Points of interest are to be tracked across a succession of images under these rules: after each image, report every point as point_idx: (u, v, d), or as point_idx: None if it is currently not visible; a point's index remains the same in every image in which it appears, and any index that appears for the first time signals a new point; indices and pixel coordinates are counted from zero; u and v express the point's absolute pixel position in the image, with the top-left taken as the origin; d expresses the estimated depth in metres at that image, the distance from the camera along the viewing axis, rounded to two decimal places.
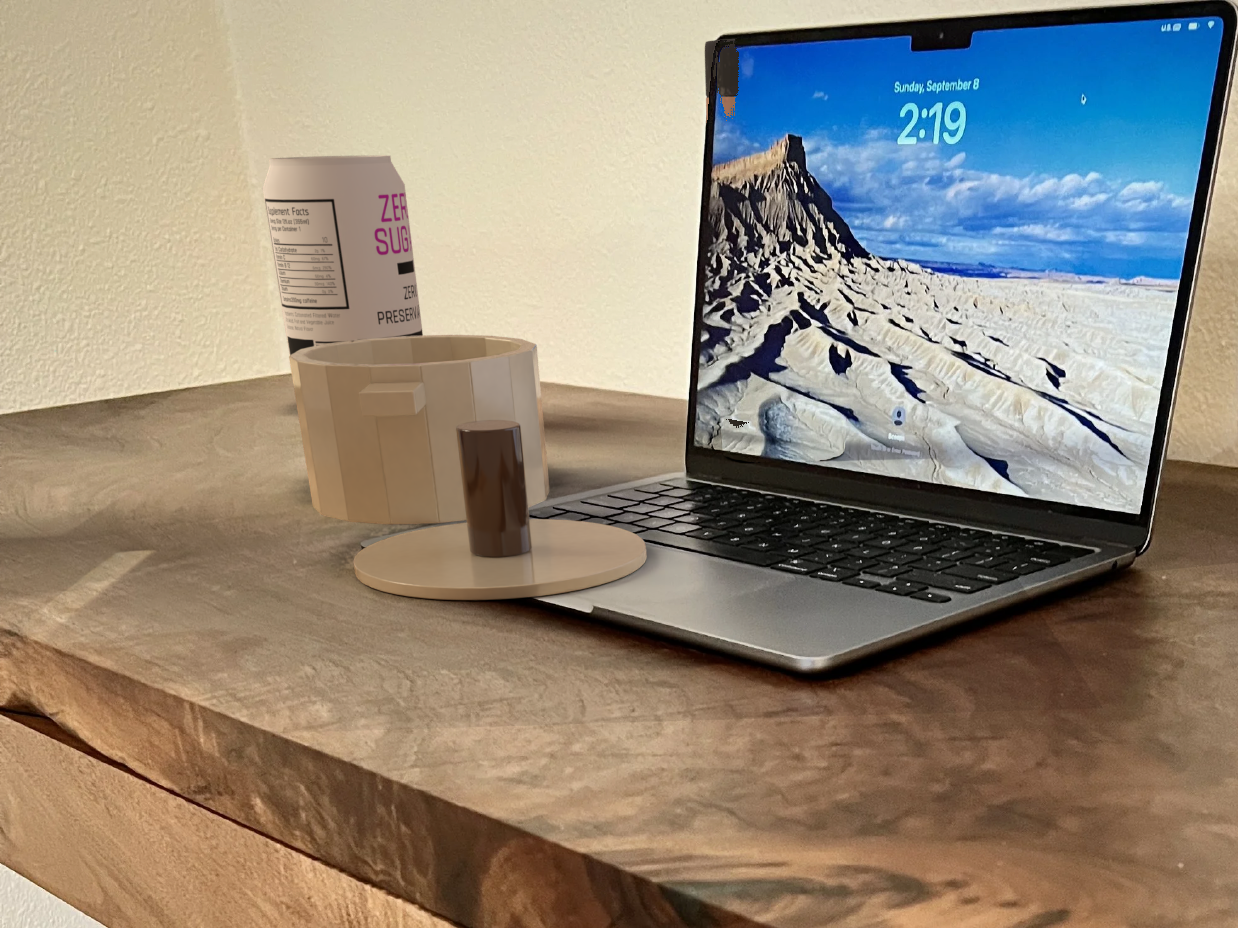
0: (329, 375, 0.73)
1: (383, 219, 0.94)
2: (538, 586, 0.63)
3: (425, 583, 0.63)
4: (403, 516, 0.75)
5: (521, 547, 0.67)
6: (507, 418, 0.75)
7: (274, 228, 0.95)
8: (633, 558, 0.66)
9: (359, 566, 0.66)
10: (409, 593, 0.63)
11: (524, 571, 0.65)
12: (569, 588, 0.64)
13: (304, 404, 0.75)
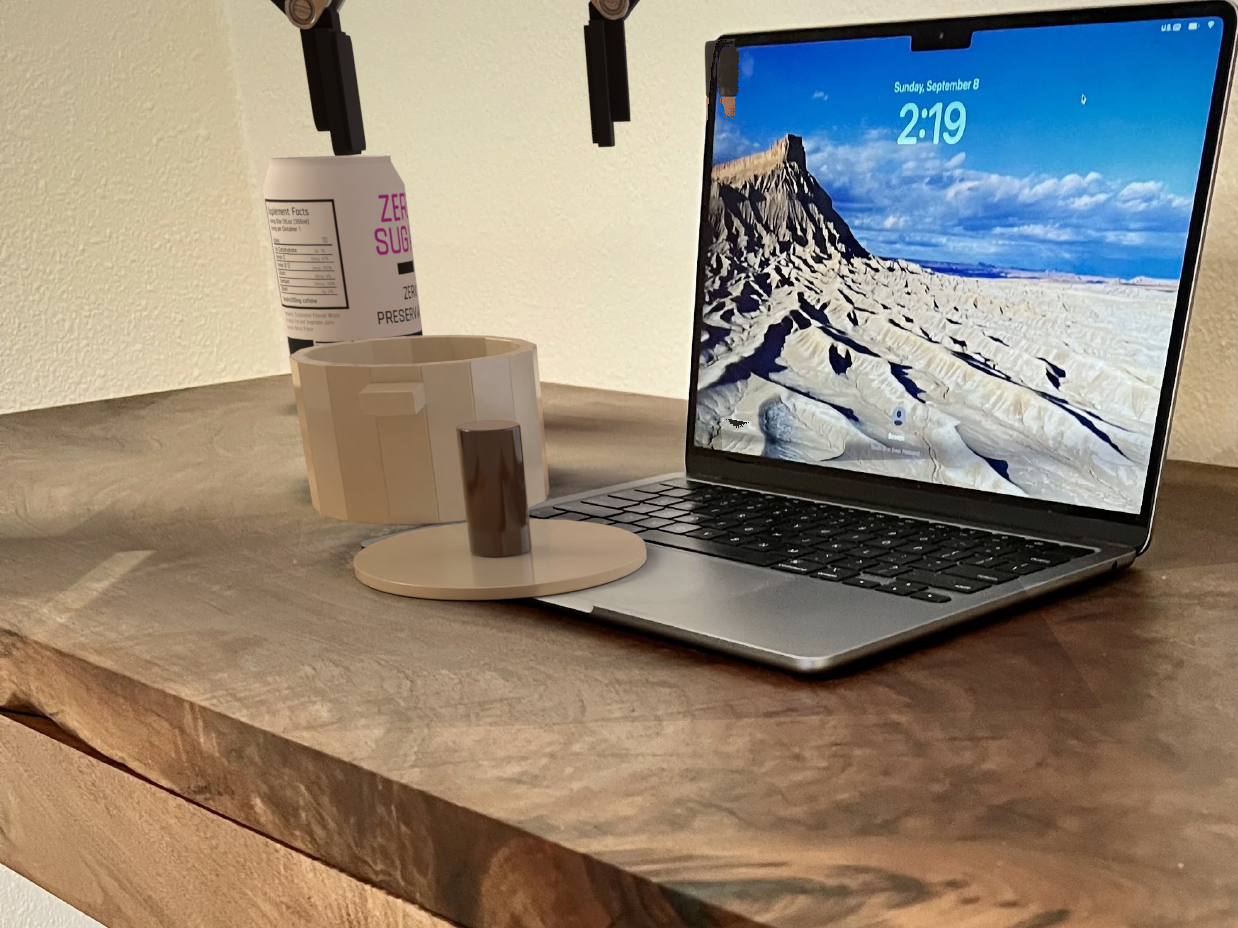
0: (329, 375, 0.73)
1: (383, 219, 0.94)
2: (538, 586, 0.63)
3: (425, 583, 0.63)
4: (403, 516, 0.75)
5: (521, 547, 0.67)
6: (507, 418, 0.75)
7: (274, 228, 0.95)
8: (633, 558, 0.66)
9: (359, 566, 0.66)
10: (409, 593, 0.63)
11: (524, 571, 0.65)
12: (569, 588, 0.64)
13: (304, 404, 0.75)
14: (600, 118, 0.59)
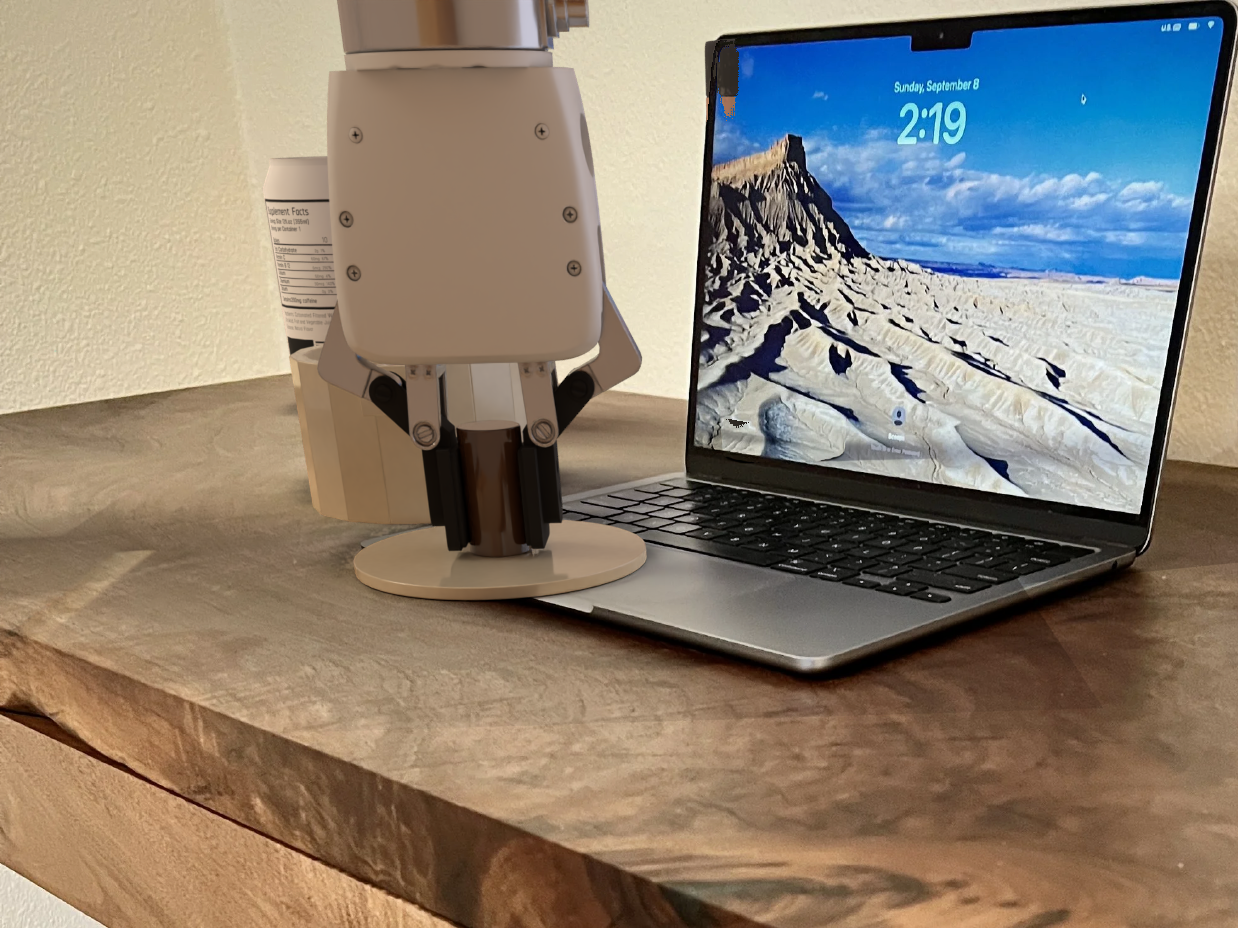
0: None
1: None
2: (538, 586, 0.63)
3: (425, 583, 0.63)
4: (403, 516, 0.75)
5: (521, 547, 0.67)
6: (507, 418, 0.75)
7: (274, 228, 0.95)
8: (633, 558, 0.66)
9: (359, 566, 0.66)
10: (409, 593, 0.63)
11: (524, 571, 0.65)
12: (569, 588, 0.64)
13: (304, 404, 0.75)
14: (533, 527, 0.66)
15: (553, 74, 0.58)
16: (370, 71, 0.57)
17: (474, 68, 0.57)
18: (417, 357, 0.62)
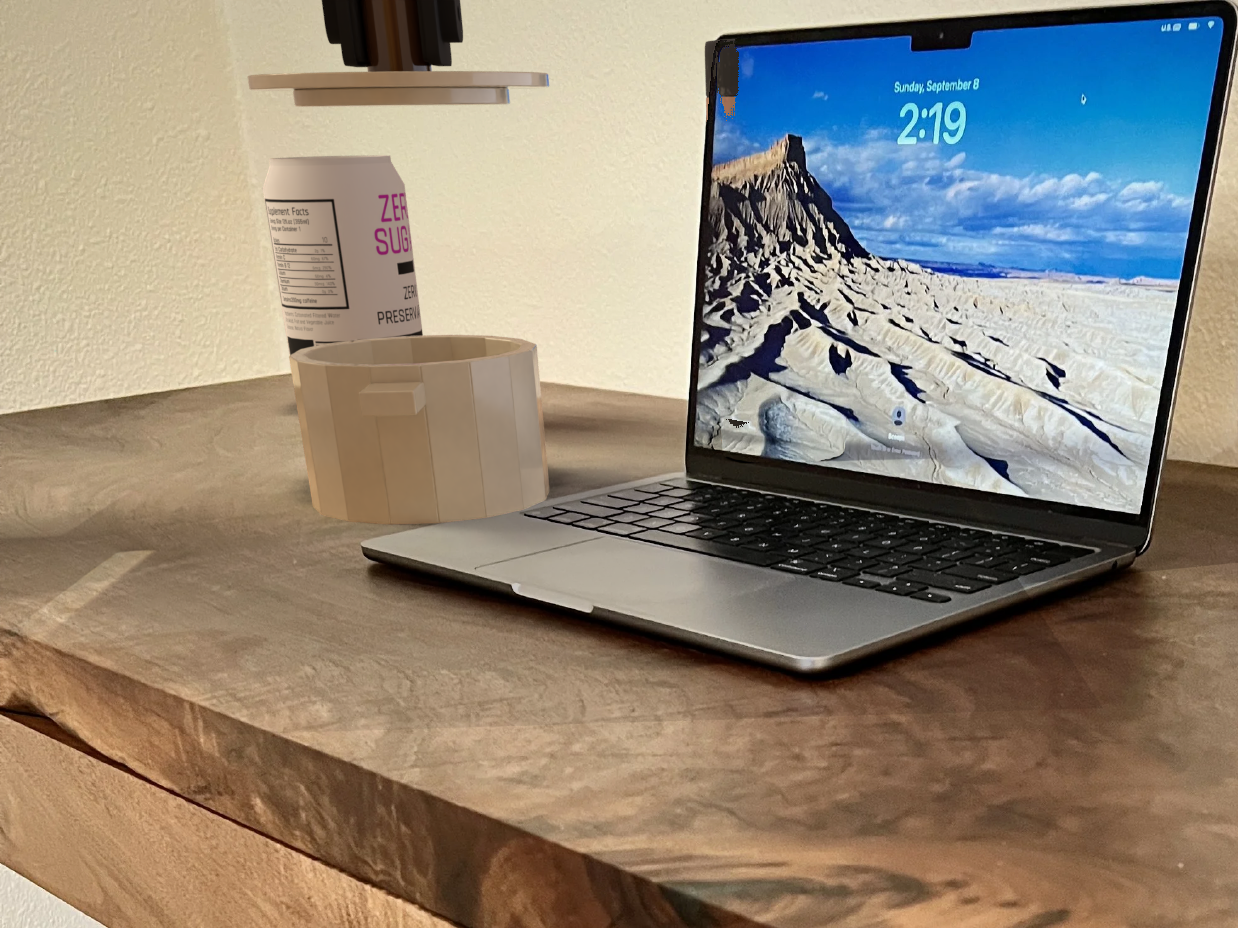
0: (329, 375, 0.73)
1: (383, 219, 0.94)
2: (428, 74, 0.62)
3: None
4: (403, 516, 0.75)
5: (419, 65, 0.66)
6: (507, 418, 0.75)
7: (274, 228, 0.95)
8: (531, 72, 0.65)
9: None
10: (297, 83, 0.62)
11: None
12: (460, 82, 0.62)
13: (304, 404, 0.75)
14: (429, 37, 0.65)
15: None
16: None
17: None
18: None
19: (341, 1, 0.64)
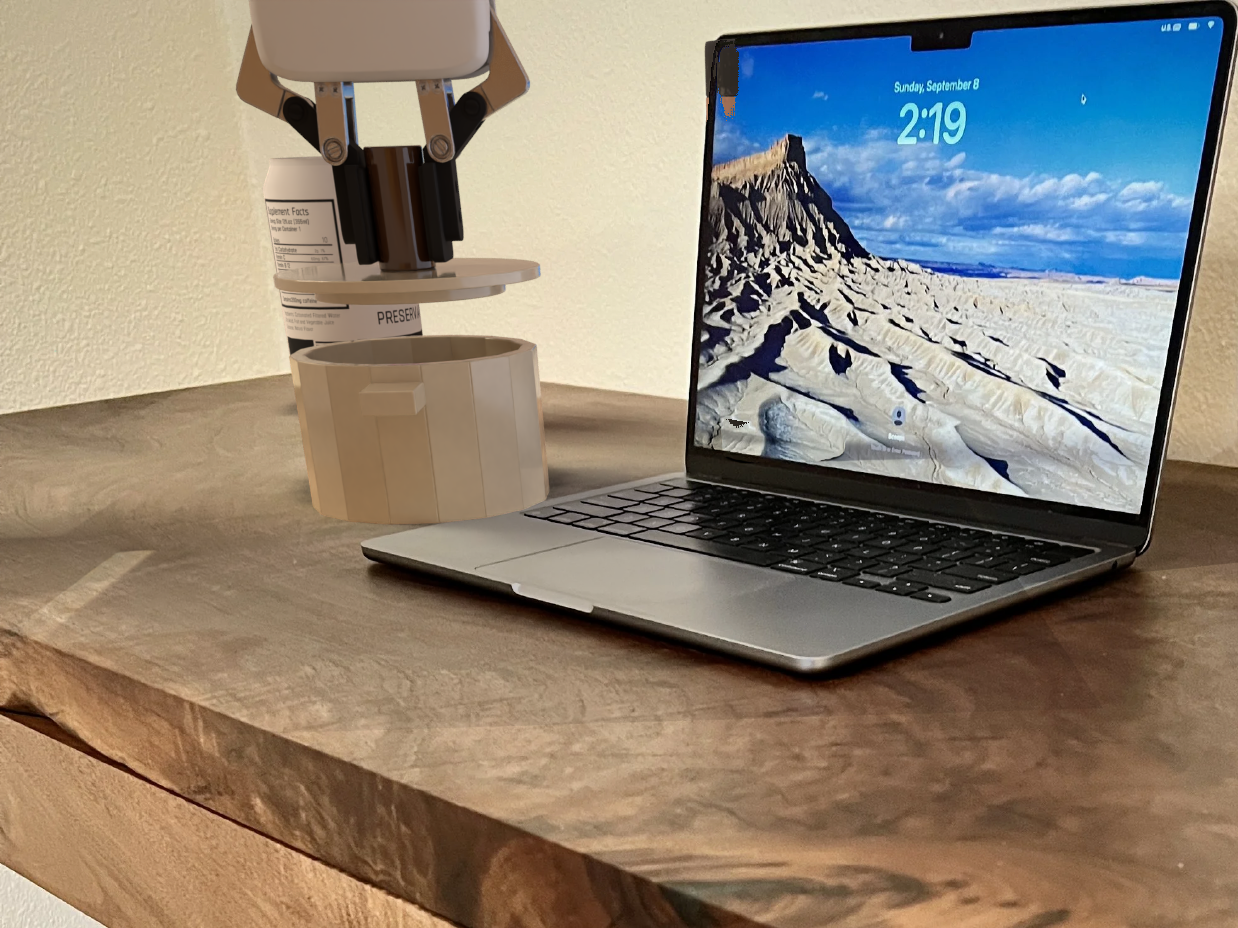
0: (329, 375, 0.73)
1: None
2: (435, 281, 0.70)
3: (334, 280, 0.70)
4: (403, 516, 0.75)
5: (425, 262, 0.74)
6: (507, 418, 0.75)
7: (274, 228, 0.95)
8: (525, 268, 0.73)
9: (277, 276, 0.73)
10: (319, 290, 0.70)
11: (425, 274, 0.72)
12: (464, 286, 0.71)
13: (304, 404, 0.75)
14: (434, 240, 0.73)
15: None
16: None
17: None
18: (324, 73, 0.69)
19: (356, 211, 0.72)
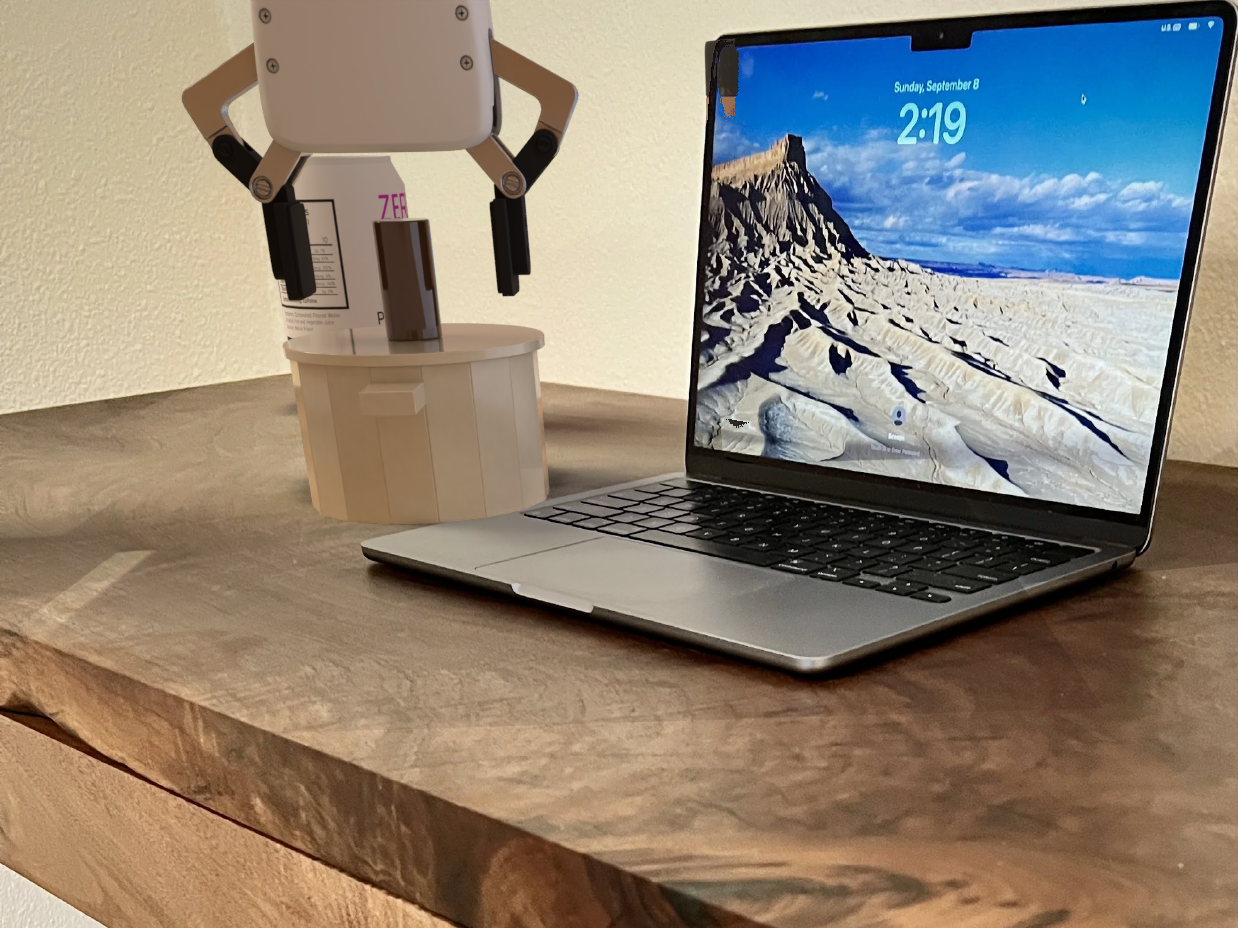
0: (329, 375, 0.73)
1: None
2: (442, 355, 0.72)
3: (342, 353, 0.72)
4: (403, 516, 0.75)
5: (431, 332, 0.75)
6: (507, 418, 0.75)
7: None
8: (530, 340, 0.75)
9: (287, 346, 0.74)
10: (328, 362, 0.72)
11: (431, 347, 0.73)
12: (470, 359, 0.72)
13: (304, 404, 0.75)
14: (503, 274, 0.74)
15: None
16: None
17: None
18: (330, 145, 0.71)
19: (285, 248, 0.73)
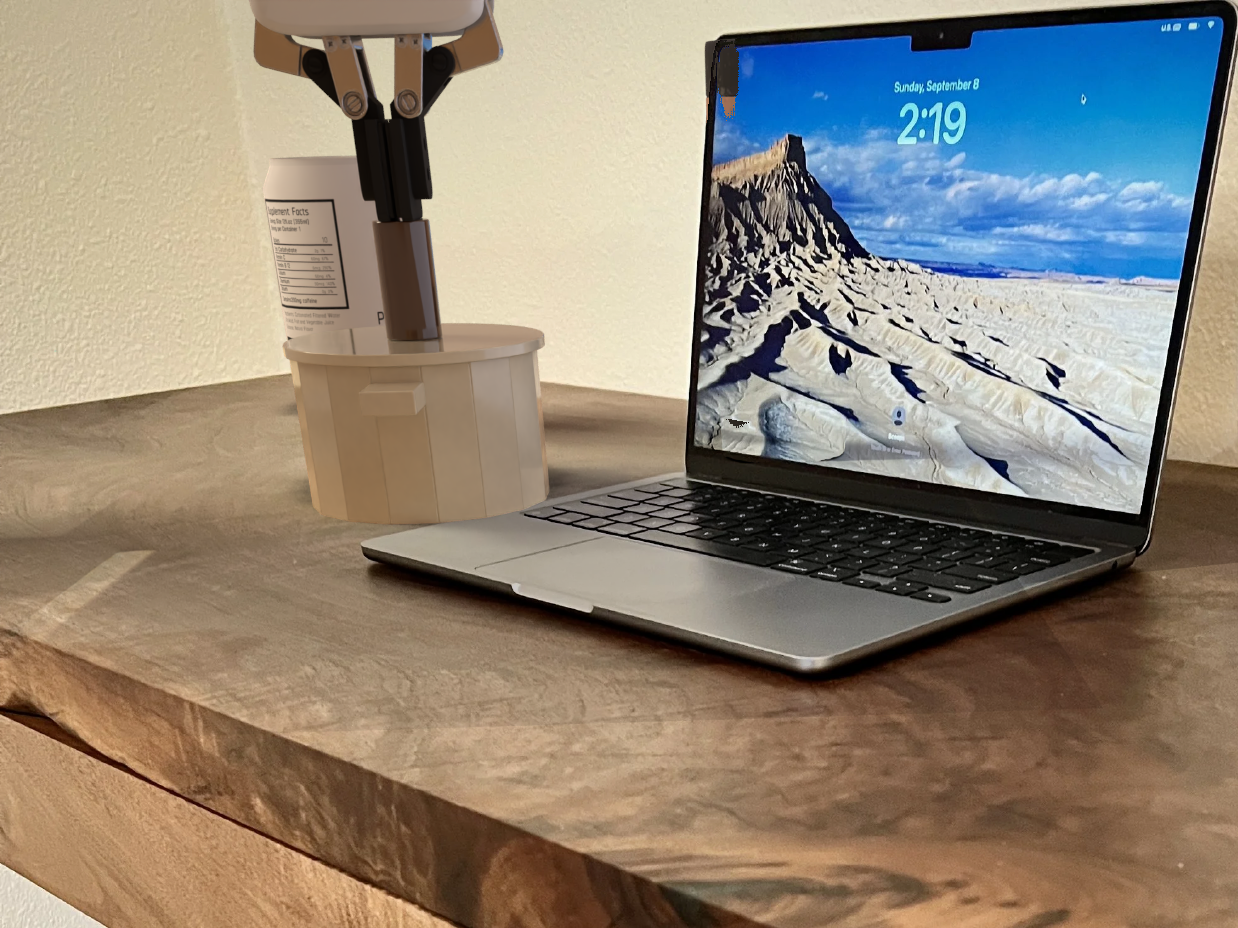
0: (329, 375, 0.73)
1: None
2: (442, 355, 0.72)
3: (342, 353, 0.72)
4: (403, 516, 0.75)
5: (431, 332, 0.75)
6: (507, 418, 0.75)
7: (274, 228, 0.95)
8: (530, 340, 0.75)
9: (287, 346, 0.74)
10: (328, 362, 0.72)
11: (431, 347, 0.73)
12: (470, 359, 0.72)
13: (304, 404, 0.75)
14: (402, 198, 0.72)
15: None
16: None
17: None
18: (317, 26, 0.68)
19: (376, 166, 0.71)
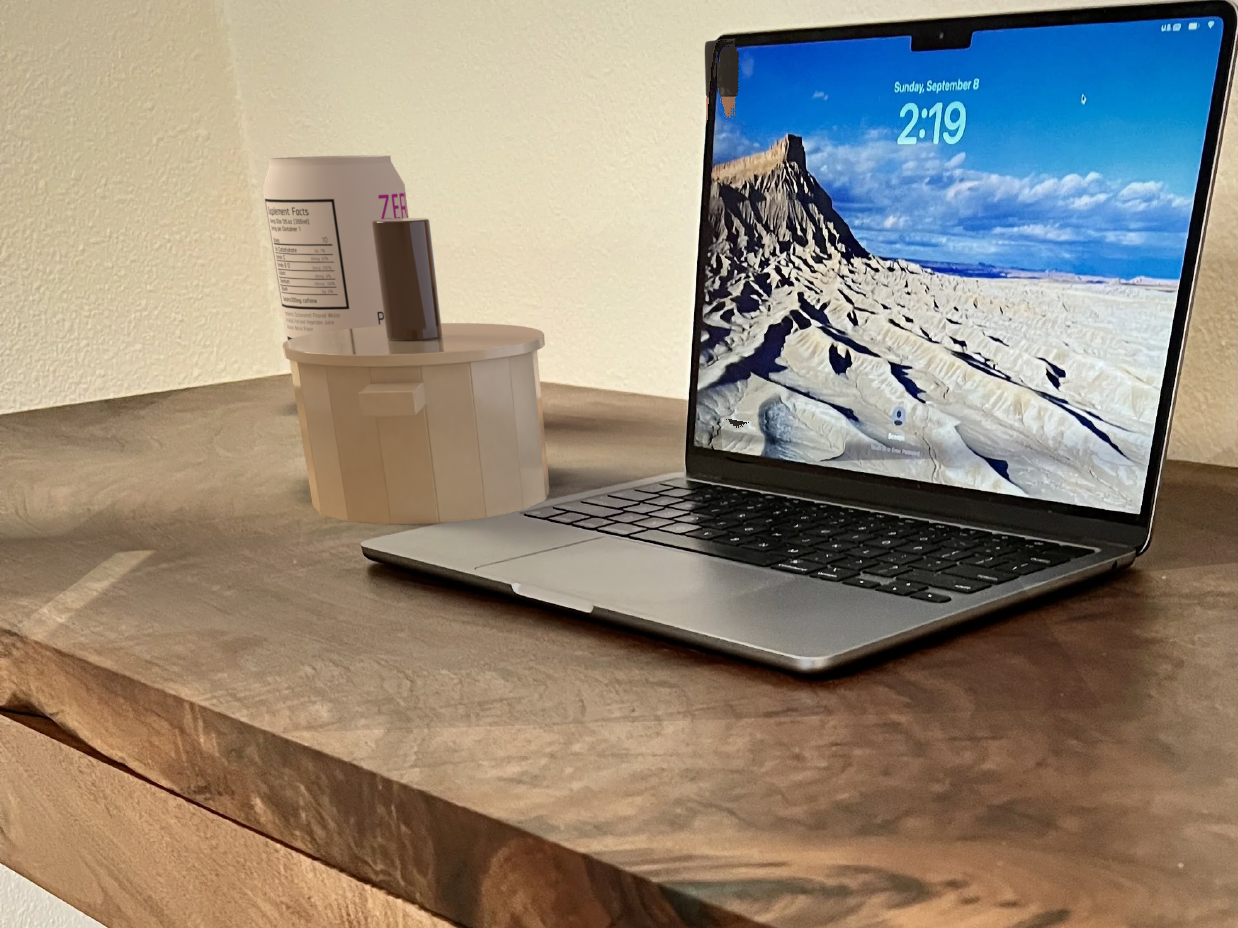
0: (329, 375, 0.73)
1: None
2: (442, 355, 0.72)
3: (342, 353, 0.72)
4: (403, 516, 0.75)
5: (431, 332, 0.75)
6: (507, 418, 0.75)
7: (274, 228, 0.95)
8: (530, 340, 0.75)
9: (287, 346, 0.74)
10: (328, 362, 0.72)
11: (431, 347, 0.73)
12: (470, 359, 0.72)
13: (304, 404, 0.75)
14: None
15: None
16: None
17: None
18: None
19: None
